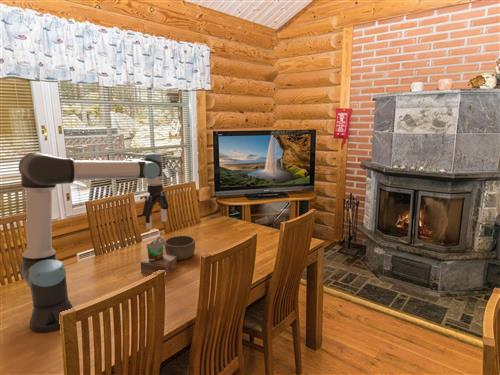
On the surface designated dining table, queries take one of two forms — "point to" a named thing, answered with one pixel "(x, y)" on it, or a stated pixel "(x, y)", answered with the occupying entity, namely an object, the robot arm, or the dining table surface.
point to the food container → (155, 250)
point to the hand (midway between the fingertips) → (156, 225)
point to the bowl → (180, 246)
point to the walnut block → (159, 265)
